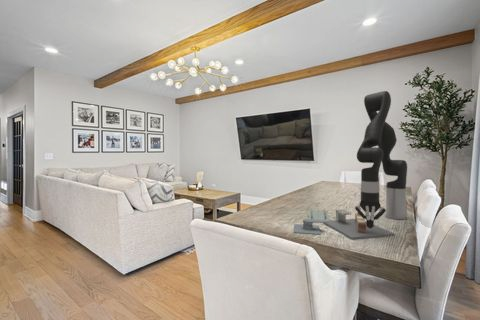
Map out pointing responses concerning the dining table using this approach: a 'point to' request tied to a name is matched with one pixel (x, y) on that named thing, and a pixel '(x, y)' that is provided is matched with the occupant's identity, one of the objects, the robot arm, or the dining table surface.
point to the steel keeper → (341, 215)
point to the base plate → (352, 232)
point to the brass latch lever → (360, 223)
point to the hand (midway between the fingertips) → (369, 227)
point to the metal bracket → (318, 215)
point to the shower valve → (308, 227)
